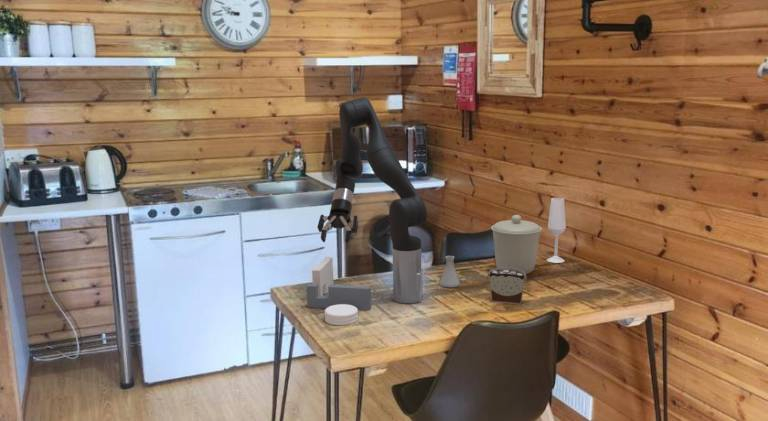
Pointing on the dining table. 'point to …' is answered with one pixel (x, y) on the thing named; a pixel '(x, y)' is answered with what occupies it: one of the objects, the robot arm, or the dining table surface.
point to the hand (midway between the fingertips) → (335, 241)
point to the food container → (506, 285)
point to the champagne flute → (556, 224)
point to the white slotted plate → (323, 275)
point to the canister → (516, 243)
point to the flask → (449, 274)
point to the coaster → (341, 314)
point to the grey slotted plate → (340, 296)
